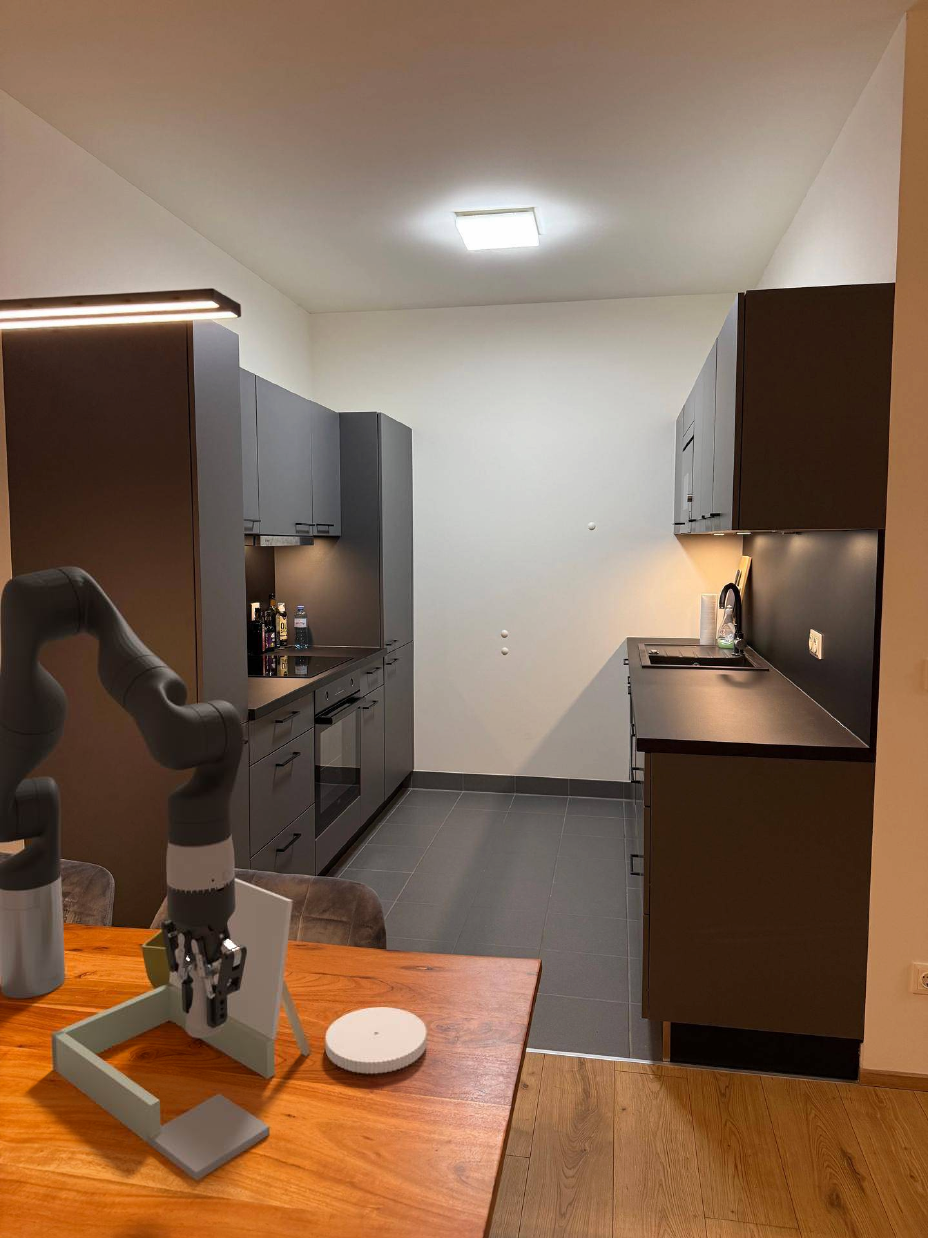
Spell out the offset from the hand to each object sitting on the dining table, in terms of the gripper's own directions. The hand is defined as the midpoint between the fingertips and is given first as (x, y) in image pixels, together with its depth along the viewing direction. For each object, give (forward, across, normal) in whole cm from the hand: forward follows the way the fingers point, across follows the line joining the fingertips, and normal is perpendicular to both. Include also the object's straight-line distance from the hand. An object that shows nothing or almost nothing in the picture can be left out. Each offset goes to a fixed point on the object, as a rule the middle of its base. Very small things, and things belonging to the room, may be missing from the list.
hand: (204, 1016), depth 104 cm
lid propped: (+10, -16, +15) cm, 24 cm away
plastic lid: (+15, +2, +26) cm, 30 cm away
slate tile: (+15, 0, 0) cm, 15 cm away
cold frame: (+15, -16, +7) cm, 23 cm away
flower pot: (+15, -33, +18) cm, 40 cm away
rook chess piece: (+2, 0, 0) cm, 2 cm away
